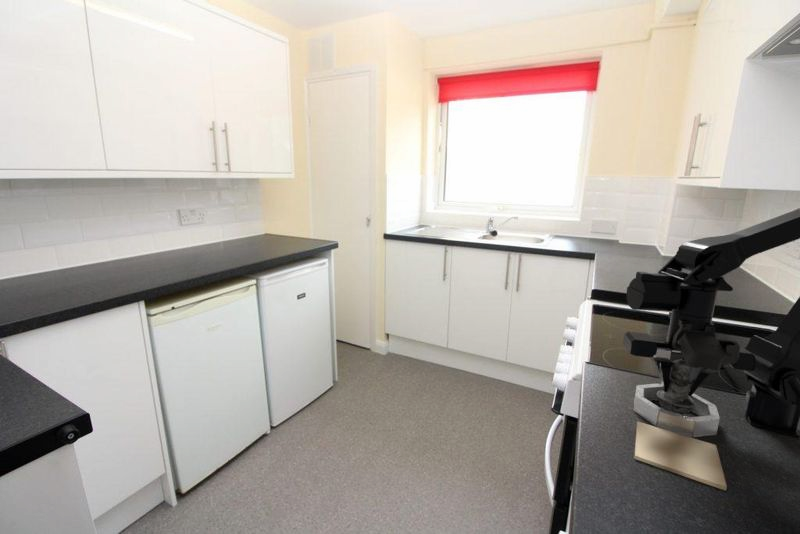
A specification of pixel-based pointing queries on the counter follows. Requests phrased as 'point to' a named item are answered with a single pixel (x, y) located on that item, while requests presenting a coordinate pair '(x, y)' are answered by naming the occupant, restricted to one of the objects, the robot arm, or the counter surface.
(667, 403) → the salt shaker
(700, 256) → the robot arm
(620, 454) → the counter surface
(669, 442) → the beige pad
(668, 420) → the white octagonal ring
